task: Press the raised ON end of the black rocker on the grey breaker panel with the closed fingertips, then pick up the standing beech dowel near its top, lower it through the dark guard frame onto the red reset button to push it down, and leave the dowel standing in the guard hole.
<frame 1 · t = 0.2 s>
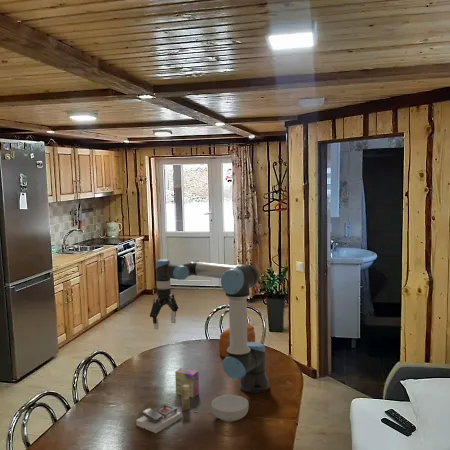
hand: (164, 326, 265), 28 cm above the table, fingers open, 13 cm apart
dowel: (185, 408, 227), on the table
rocker: (152, 415, 212), point 5 cm above the table, hinge at -12.0°
bread: (237, 351, 303), on the table
cereal bowl: (230, 417, 218), on the table
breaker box: (159, 421, 215), on the table
reset button: (165, 412, 218), point 3 cm above the table, slide at 0.0 cm
box: (187, 394, 243), on the table
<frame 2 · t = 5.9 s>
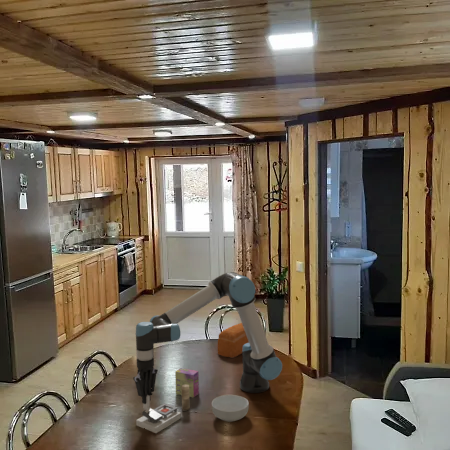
hand: (146, 409, 213), 6 cm above the table, fingers closed
rocker: (152, 415, 212), point 5 cm above the table, hinge at -10.4°, touching gripper
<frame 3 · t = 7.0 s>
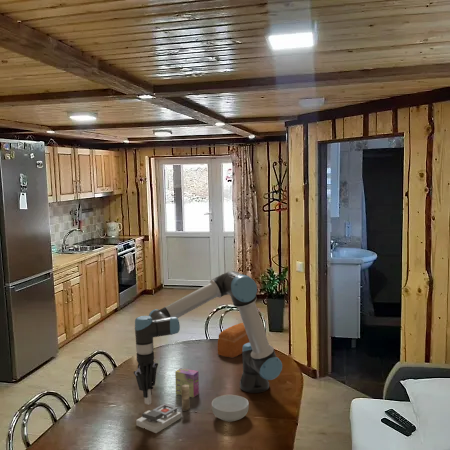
hand: (148, 403, 213), 9 cm above the table, fingers closed
rocker: (152, 415, 212), point 5 cm above the table, hinge at 5.1°
everything else where it was.
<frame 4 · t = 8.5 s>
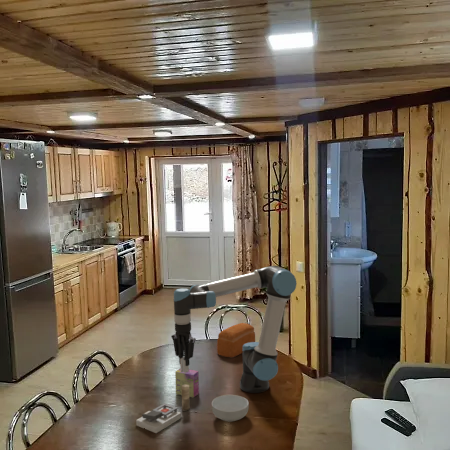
hand: (184, 371, 225), 18 cm above the table, fingers closed
rocker: (152, 415, 212), point 5 cm above the table, hinge at 10.0°
everything else where it was.
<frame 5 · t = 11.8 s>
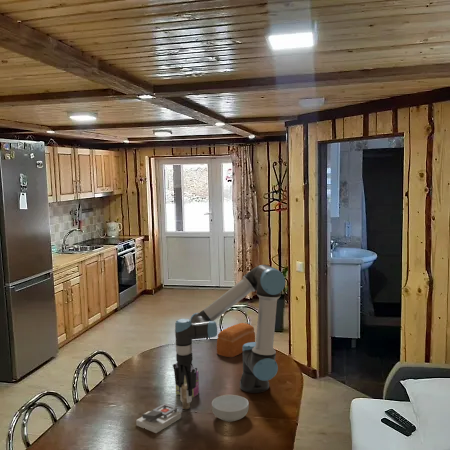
hand: (186, 400, 227), 4 cm above the table, fingers closed on dowel, 3 cm apart
dowel: (186, 407, 227), point 1 cm above the table, touching gripper
rocker: (152, 415, 212), point 5 cm above the table, hinge at 11.4°
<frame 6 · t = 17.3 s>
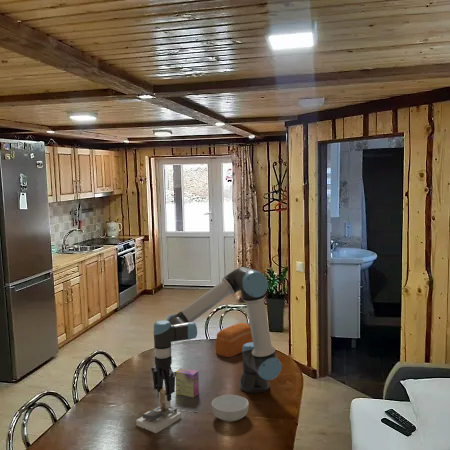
hand: (164, 406, 218), 6 cm above the table, fingers closed on dowel, 3 cm apart
dowel: (164, 412, 218), point 3 cm above the table, touching gripper
reset button: (165, 414, 218), point 2 cm above the table, slide at 0.9 cm
when the fingers open (6 cm above the table, at t = 18.2 s): dowel stays where it is, resting on reset button.
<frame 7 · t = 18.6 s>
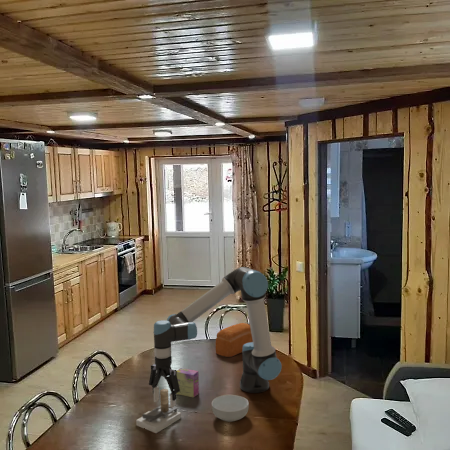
hand: (164, 403, 218), 7 cm above the table, fingers open, 9 cm apart
dowel: (164, 414, 218), point 2 cm above the table, touching reset button
reset button: (165, 415, 218), point 1 cm above the table, slide at 1.5 cm, touching dowel
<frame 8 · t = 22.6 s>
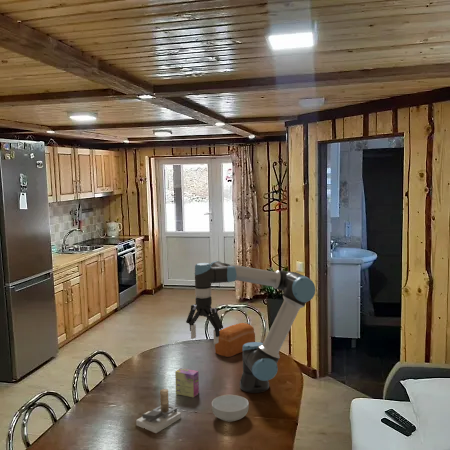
hand: (204, 340, 227), 32 cm above the table, fingers open, 13 cm apart
at the end: rocker at +12° (first picture: -12°); reset button slide at 1.5 cm; dowel inside the target area on the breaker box (0.1 cm from its centre), point 1.9 cm above the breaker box's base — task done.
